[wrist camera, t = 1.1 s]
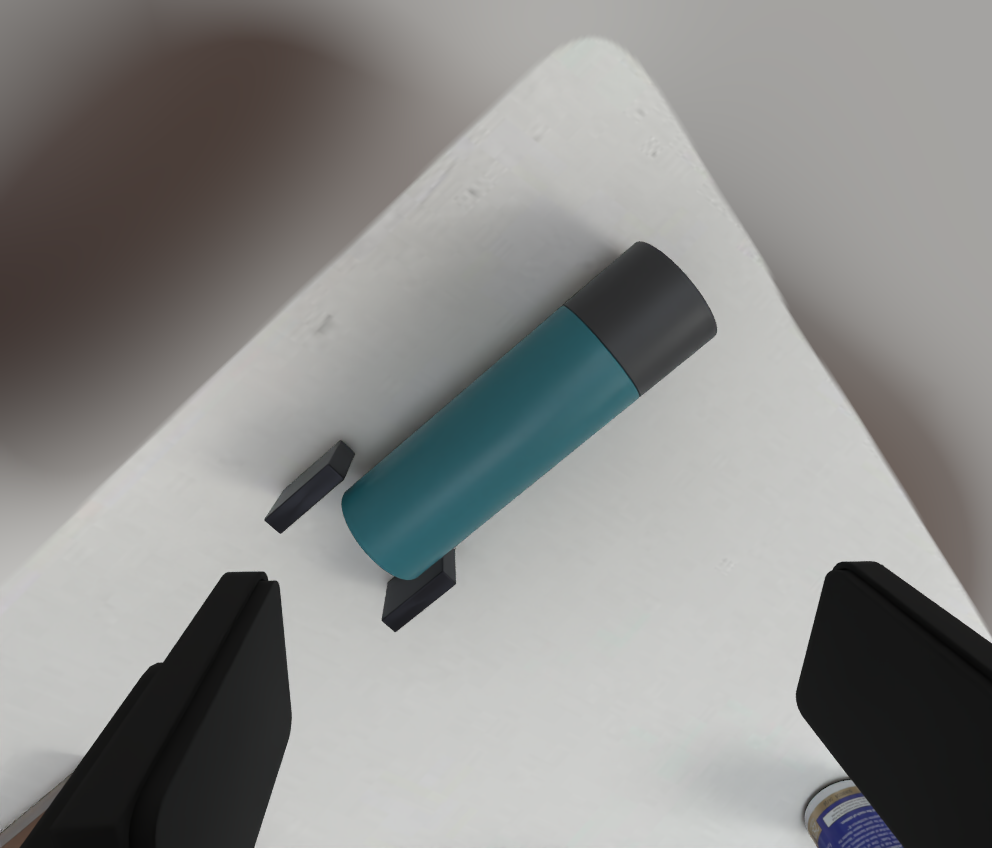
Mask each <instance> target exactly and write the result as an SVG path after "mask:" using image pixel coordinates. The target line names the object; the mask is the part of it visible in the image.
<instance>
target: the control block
mask: <svg viewBox="0 0 992 848" xmlns="http://www.w3.org/2000/svg"><path fill="white" fill-rule="evenodd" d="M71 775H72V774H71ZM71 775H70V776H71ZM70 776H68V777H67V778H66V779H65V780H64V781H63V782H61V783H60V784H59V785H58V786H57V787H55V788H54V789H53V790H52V791H51V792H49V793H48V794H47V795H46V796H45V797H43V798H42V799H41V800H40V801H39V802H38V803H36V804H35V805H34V806H33V807H32V808H30V809H29V810H28V811H27V812H26V813H24V814H23V815H22V816H21V817H20V818H19V819H17V820H16V821H15V822H14V823H13V824H11V825H10V826H9V827H8V828H7V829H5V830H4V831H3V832H2V833H1V834H0V848H20V846H21V845H22V844H23V842H24V841H25V839H26V838H27V837H28V835H29V834H30V832H31V831H32V830H33V828H34V827H35V825H36V824H37V822H38V821H39V820H40V818H41V817H42V815H43V814H44V813H45V811H46V810H47V808H48V807H49V806H50V804H51V803H52V801H53V800H54V799H55V797H56V796H57V794H58V793H59V792H60V790H61V789H62V787H63V786H64V785H65V783H66V782H67V780H68V779H69V778H70Z"/></svg>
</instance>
